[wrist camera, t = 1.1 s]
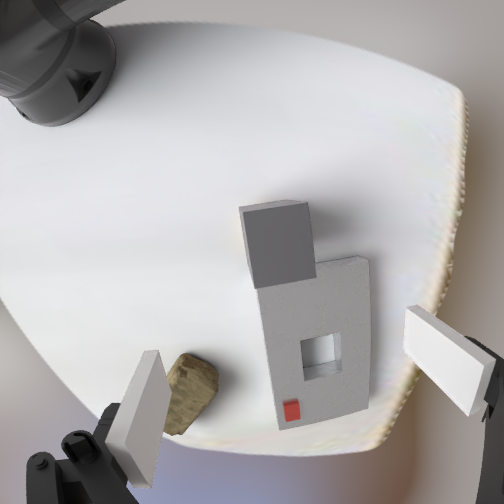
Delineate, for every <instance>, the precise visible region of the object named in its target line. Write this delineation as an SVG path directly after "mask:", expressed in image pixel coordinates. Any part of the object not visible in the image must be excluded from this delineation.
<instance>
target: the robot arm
mask: <svg viewBox="0 0 504 504" xmlns="http://www.w3.org/2000/svg"><path fill="white" fill-rule="evenodd" d="M123 1H125V0H0V96H3V97H6V98H8V100H9V101H10V102H11V103H12V104H13V105H14V106H15V107H16V108H17V110H18V112H19V113H20V114H21V115H22V116H23V117H24V118H25V119H27V120H28V121H30V122H32V123H36V124H39V125H42V126H48V127H52V126H59V125H62V124H65V123H68V122H70V121H72V120H74V119H76V118H77V117H79V116H80V115H82V114H83V113H84V112H85V111H87V110H88V109H89V108H90V107H91V106H92V105H93V104H94V103H95V102H96V101H97V99H98V98H99V97H100V95H101V94H102V93H103V91H104V90H105V88H106V86H107V85H108V83H109V81H110V78H111V76H112V73H113V70H114V66H115V61H116V49H115V44H114V41H113V39H112V37H111V36H110V34H109V33H108V32H107V31H106V29H105V28H104V27H103V26H102V25H100V24H99V23H98V22H96V21H94V20H90V18H91V17H93V16H95V15H97V14H99V13H101V12H103V11H104V10H107V9H109V8H111V7H113V6H114V5H117V4H118V3H121V2H123ZM403 351H404V352H405V353H406V354H407V355H408V356H409V357H410V358H411V359H412V360H413V361H414V362H415V363H416V364H417V365H418V366H419V367H420V368H421V369H422V370H423V371H424V372H425V373H426V374H427V375H428V376H429V377H430V378H431V379H432V380H433V381H434V382H435V383H436V384H437V385H438V386H439V387H440V388H441V389H442V390H443V391H444V392H445V393H446V394H447V395H448V396H449V397H450V398H451V399H452V400H453V402H454V403H455V404H456V405H457V406H458V407H460V409H461V410H462V411H463V412H464V413H465V414H466V415H467V416H470V415H472V414H474V413H476V412H477V411H479V410H480V409H481V406H482V403H483V400H485V401H486V402H487V403H488V405H487V408H486V411H485V413H484V416H483V418H482V422H483V421H484V419H485V418H486V426H485V441H484V451H483V461H482V469H481V476H480V482H479V488H478V493H477V499H476V504H504V359H502V358H501V357H500V356H498V355H497V354H496V353H494V352H493V351H491V350H490V349H489V348H486V346H484V345H483V344H481V343H480V342H478V341H477V340H476V339H473V338H471V337H468V336H462V335H461V334H459V333H458V332H457V331H455V330H454V329H452V328H451V327H449V326H448V325H446V324H445V323H444V322H442V321H441V320H439V319H438V318H436V317H435V316H433V315H432V314H430V313H429V312H427V311H426V310H424V309H423V308H421V307H420V306H418V305H414V306H411V307H407V308H406V317H405V331H404V343H403ZM171 394H172V392H171V389H170V386H169V383H168V380H167V376H166V373H165V370H164V367H163V364H162V360H161V357H160V353H159V350H153V351H144V353H143V355H142V357H141V360H140V362H139V364H138V366H137V368H136V371H135V373H134V375H133V377H132V380H131V382H130V384H129V386H128V389H127V391H126V393H125V395H124V398H123V400H122V402H121V403H111V404H110V405H109V406H108V407H107V408H106V409H105V410H104V412H103V414H102V416H101V419H100V420H99V422H98V426H97V427H96V429H95V431H94V433H93V435H92V434H91V433H89V432H87V431H84V430H78V431H74V432H71V433H70V434H68V435H67V436H66V437H65V438H64V439H63V441H62V443H61V446H62V449H63V451H64V452H65V454H66V455H67V457H68V458H69V459H64V460H55V458H54V457H53V456H52V455H51V454H50V453H47V452H39V453H36V454H34V455H32V456H31V457H30V458H29V460H28V462H27V472H26V492H27V493H26V496H27V504H139V503H138V502H137V500H136V499H135V498H134V496H133V495H132V494H131V493H130V491H129V490H128V489H127V487H126V485H127V481H128V480H129V482H130V483H131V485H132V486H133V487H136V488H152V483H153V478H154V473H155V468H156V463H157V458H158V453H159V448H160V444H161V439H162V434H163V430H164V425H165V421H166V416H167V412H168V407H169V403H170V399H171Z"/></svg>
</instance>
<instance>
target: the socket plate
mask: <svg viewBox="0 0 504 504" xmlns="http://www.w3.org/2000/svg"><path fill="white" fill-rule="evenodd" d="M315 266H316V276H317V278H313V279H307V280H302V281H297V282H291V283H286V284H280V285H275V286H269V287H263V288H258V289H256V294H257V300H258V306H259V312H260V319H261V325H262V331H263V337H264V343H265V350H266V356H267V362H268V368H269V374H270V380H271V387H272V393H273V399H274V405H275V411H276V417H277V422H278V426H279V430H285V429H290V428H295V427H299V426H304V425H308V424H313V423H317V422H321V421H325V420H329V419H333V418H337V417H340V416H344V415H348V414H351V413H354V412H358V411H361V410H364V409H368V403H369V386H370V360H371V303H370V277H369V261H368V260H366V259H364V258H362V257H360V256H354V257H349V258H343V259H338V260H332V261H327V262H322V263H316V264H315ZM333 333H334V349H335V361H332V362H328V363H324V364H320V365H315V366H311V367H306V368H303V364H302V354H301V345H300V341H301V340H306V339H310V338H315V337H320V336H324V335H329V334H333Z"/></svg>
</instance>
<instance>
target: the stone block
mask: <svg viewBox="0 0 504 504" xmlns="http://www.w3.org/2000/svg"><path fill="white" fill-rule="evenodd" d="M167 380H168V383H169V386H170V389H171V392H172V394H171V399H170V403H169V407H168V412H167V416H166V421H165V425H164V430H163V432H165V433H167V434H169V435H171V436H173V435H176V434H179V435H183V433H184V432H185V431H186V430H187V428H188V427H189V426H190V425H191V424H192V423H193V421H194V420H195V419H196V418H197V417H198V415H199V414H200V413H201V412H202V411H203V410H204V409H205V408H206V407H207V406H208V405H209V403H210V402H211V400H212V399H213V397H214V396H215V395H216V392H217V391H218V383H217V382H218V373H217V371H216V370H215V369H214V368H213V367H212V366H211V365H210V364H208V363H206V362H204V361H202V360H198V359H196V358H194V357H193V356H190V355H189V354H182V355H180V356H179V358H178V359H177V361H176V362H175V364H174V365H173V367H172V368H171V370H170V372H169V373H168V375H167Z"/></svg>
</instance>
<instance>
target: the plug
mask: <svg viewBox="0 0 504 504" xmlns="http://www.w3.org/2000/svg"><path fill="white" fill-rule="evenodd" d="M239 213H240V219H241V225H242V231H243V237H244V244H245V250H246V256H247V262H248V266H249V270H250V273H251V277H252V281H253V284H254V288H255V289H258V288H263V287H269V286H275V285H280V284H286V283H291V282H297V281H302V280H307V279H313V278H317V276H316V266H315V257H314V248H313V240H312V232H311V224H310V216H309V209H308V202H300V201H292V200H281V201H274V202H268V203H261V204H255V205H248V206H242V207H239Z"/></svg>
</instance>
